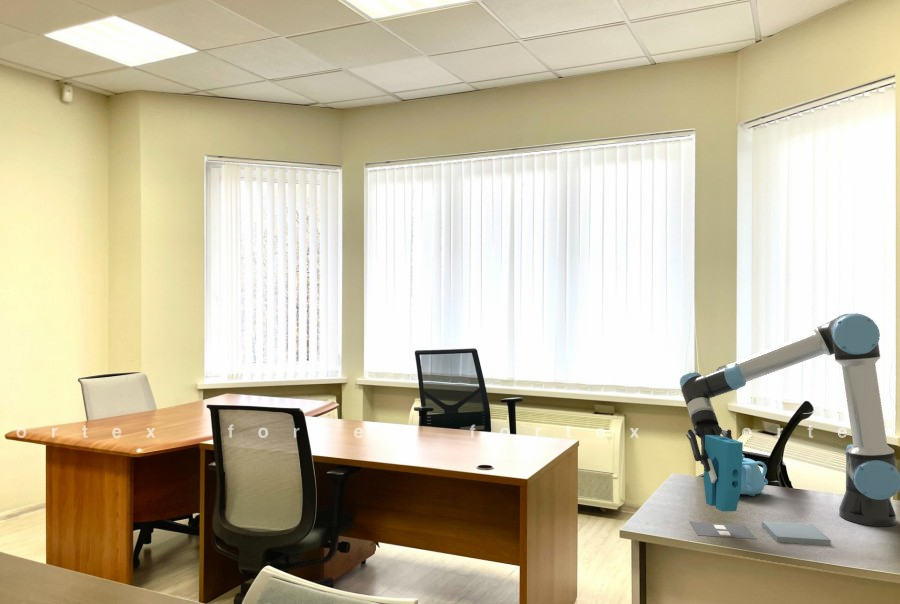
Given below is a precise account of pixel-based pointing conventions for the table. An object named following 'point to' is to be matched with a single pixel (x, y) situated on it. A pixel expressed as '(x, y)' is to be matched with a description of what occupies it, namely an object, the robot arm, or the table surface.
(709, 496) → the block
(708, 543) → the table surface
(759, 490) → the decorative pot
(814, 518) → the table surface
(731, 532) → the mat
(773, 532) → the pad
